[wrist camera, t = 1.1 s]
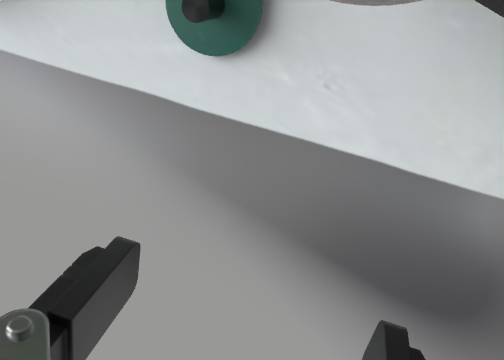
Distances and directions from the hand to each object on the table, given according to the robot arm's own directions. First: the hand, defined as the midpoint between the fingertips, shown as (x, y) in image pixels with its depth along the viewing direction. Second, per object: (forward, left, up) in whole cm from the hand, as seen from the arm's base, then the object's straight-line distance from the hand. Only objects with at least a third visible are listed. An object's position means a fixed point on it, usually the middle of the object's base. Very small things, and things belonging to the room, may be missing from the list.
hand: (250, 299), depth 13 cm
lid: (-5, -11, -29) cm, 32 cm away
